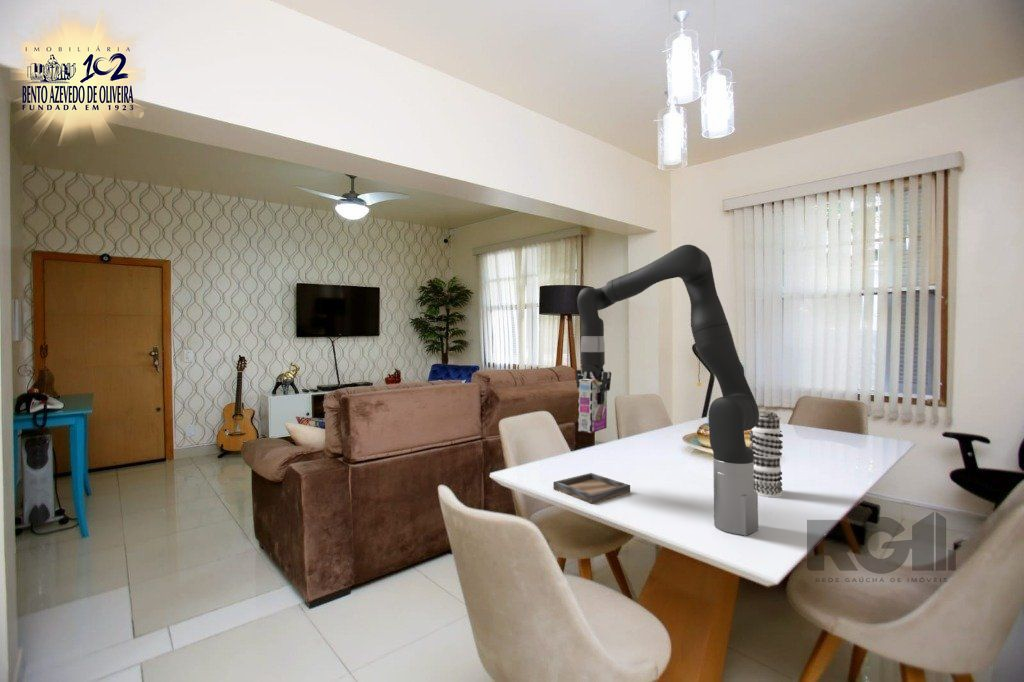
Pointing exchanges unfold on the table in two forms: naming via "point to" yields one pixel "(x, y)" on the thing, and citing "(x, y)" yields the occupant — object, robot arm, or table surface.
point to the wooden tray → (591, 487)
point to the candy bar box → (591, 408)
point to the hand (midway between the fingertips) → (592, 403)
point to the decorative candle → (767, 455)
